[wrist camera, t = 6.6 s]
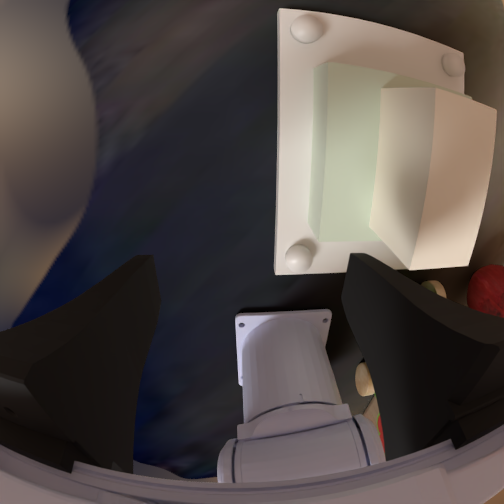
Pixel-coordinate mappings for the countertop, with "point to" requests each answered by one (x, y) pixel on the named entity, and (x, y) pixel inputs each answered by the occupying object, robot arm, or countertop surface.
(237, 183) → the countertop surface
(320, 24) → the white studded slab
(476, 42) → the countertop surface
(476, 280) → the onion
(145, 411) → the countertop surface
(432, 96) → the cream brick
